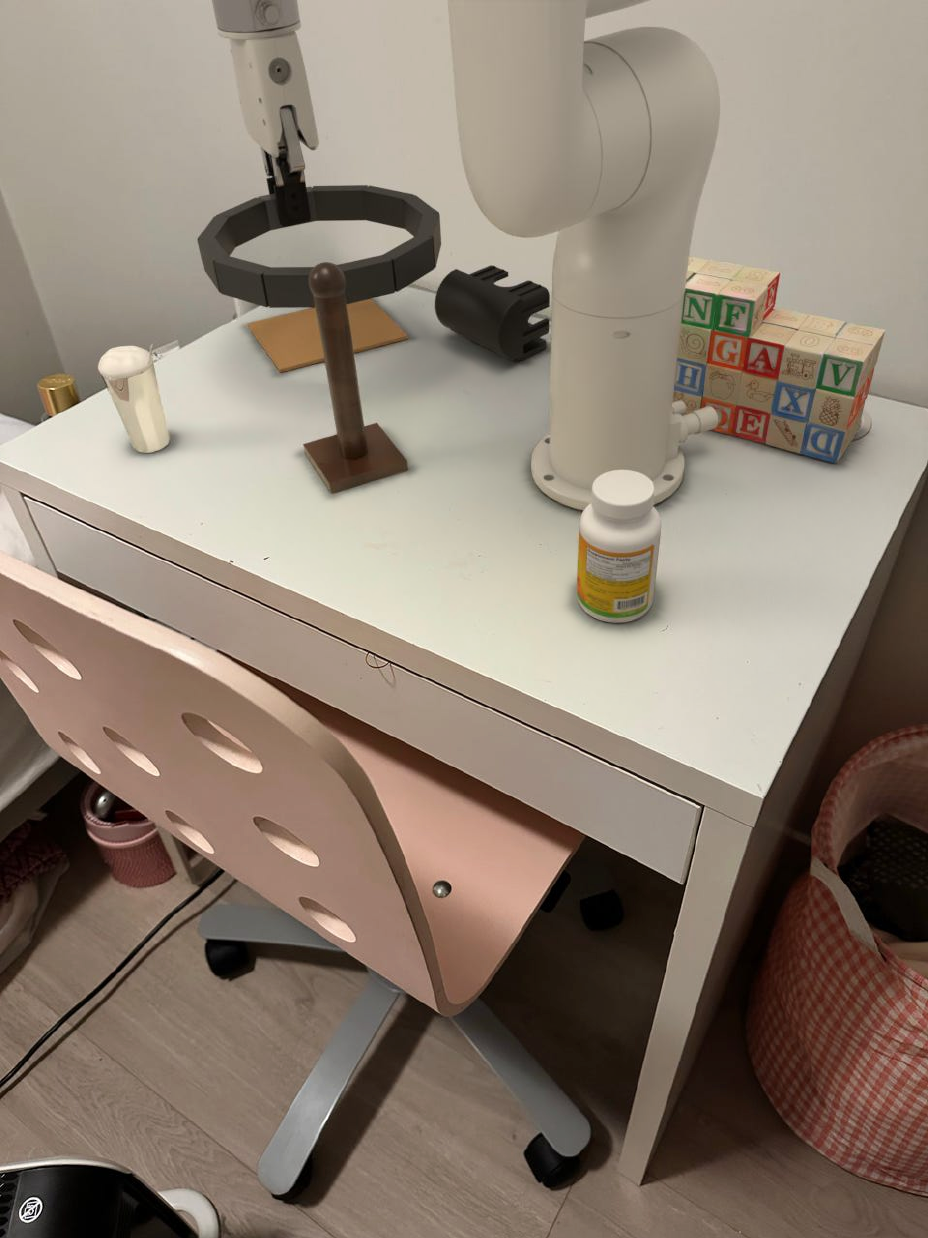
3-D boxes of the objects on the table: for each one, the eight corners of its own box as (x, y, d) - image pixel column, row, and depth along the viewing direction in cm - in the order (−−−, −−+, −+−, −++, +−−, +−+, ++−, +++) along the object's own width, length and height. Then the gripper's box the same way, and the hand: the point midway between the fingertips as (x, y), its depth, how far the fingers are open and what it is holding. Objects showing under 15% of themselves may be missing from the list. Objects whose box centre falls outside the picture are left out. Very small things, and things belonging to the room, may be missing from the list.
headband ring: (387, 200, 100) (384, 171, 98) (477, 273, 85) (477, 240, 83) (184, 242, 94) (177, 211, 92) (244, 328, 79) (237, 294, 77)
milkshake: (172, 459, 83) (139, 356, 76) (117, 455, 84) (80, 353, 77) (193, 432, 86) (163, 330, 79) (140, 428, 87) (106, 327, 80)
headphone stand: (378, 432, 84) (352, 238, 72) (408, 469, 79) (385, 269, 68) (304, 453, 82) (265, 258, 70) (331, 493, 77) (293, 291, 66)
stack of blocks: (860, 430, 80) (898, 292, 72) (836, 466, 76) (874, 325, 68) (634, 373, 89) (644, 244, 81) (604, 402, 86) (611, 271, 77)
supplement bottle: (597, 566, 69) (604, 454, 62) (665, 589, 66) (679, 476, 60) (563, 609, 66) (565, 496, 59) (633, 635, 63) (644, 520, 57)
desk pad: (367, 297, 105) (366, 293, 105) (408, 338, 97) (407, 335, 97) (248, 326, 101) (247, 323, 101) (280, 372, 93) (279, 369, 93)
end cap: (436, 341, 96) (430, 277, 92) (487, 318, 100) (484, 256, 95) (500, 374, 91) (498, 307, 86) (552, 349, 94) (553, 283, 89)
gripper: (324, 20, 80) (352, 236, 92) (271, -8, 90) (303, 190, 103) (239, 33, 77) (280, 253, 90) (195, 3, 88) (237, 203, 101)
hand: (292, 218), depth 96 cm, fingers closed on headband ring
